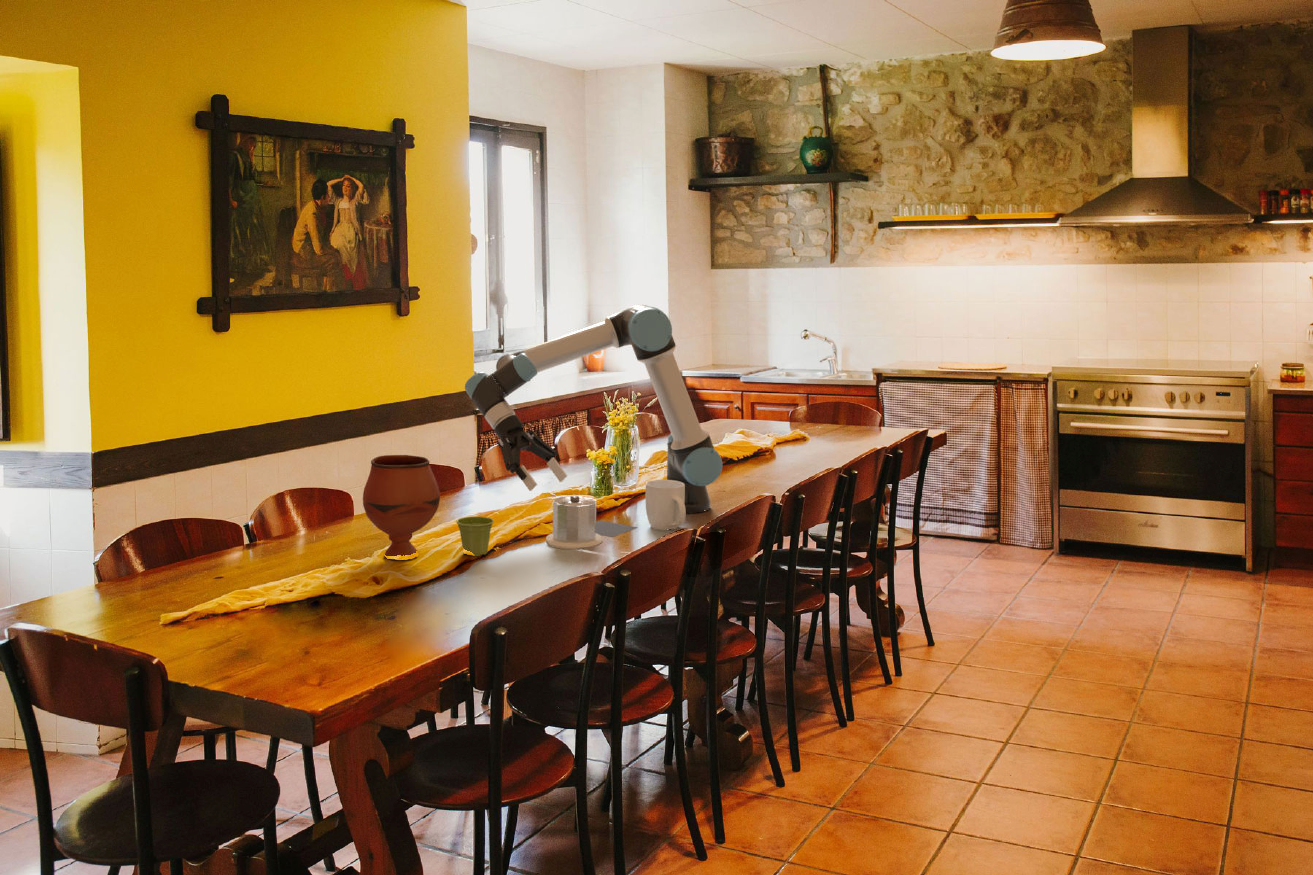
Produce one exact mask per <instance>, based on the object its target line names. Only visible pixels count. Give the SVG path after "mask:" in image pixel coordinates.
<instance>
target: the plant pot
mask: <svg viewBox="0 0 1313 875" xmlns="http://www.w3.org/2000/svg"><path fill="white" fill-rule="evenodd" d="M494 521H495V520H494V519H493V518H491V517H486V516H466V517H460V518H458V519H457V520H456V524H457V526H458V527H457V528H458V529H459V534H460V540H461V547H463V548H464V549H465V550H467V551H470V552H472V553H473V554H474V555H475V556H474V557H480V556H482V555H484V556H485V555H486V554H488V549H489V542H490V535H491V530H492V526H493V524H494ZM463 548H462V549H463Z"/></svg>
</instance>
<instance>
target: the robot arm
mask: <svg viewBox="0 0 1313 875" xmlns="http://www.w3.org/2000/svg"><path fill="white" fill-rule="evenodd" d="M630 345H631V347H632V349H633V352H634V354H635V358H636V359H637V361H638V362H640V363H643V364H644V366H645V368H646V371H647V374H648V376H649V379H650V381H651V384H652V387H653V390H654V393H655V394H656V397H657V400H658V402H659V405H660V407H661V408H660V409H661V410H662V413H663V416H664V418H665V420H666V424H667V425H668V429H669V431H670V434H669V435H668V437H667V442H666V446H667V453H666V456H667V458H666V460H667V461H666V480H674V481H679V482H682V483H684V484H685V502H684V505H685V510H686V514H697V512H699V513H702V512H701V511H704V510H708V509H709V508H710V509H711V499H710V496H709V492H708V490H707V486H709V485H711V484H713V483H714V482H716V481H717V480H718V479H719V477H720V476H721V474H722V470H723V460H722V457H721V455H720V453H719V452H718V451H717V450H716V449H715V446H714V444H713V441H712V439H711V436H710V434H709V432H708V431H707V430H703V429H702V427H701V424H700V421H699V418H698V417H697V414H696V411H695V409H694V405H693V403H692V400H691V398H690V395H689V393H688V390H687V387H686V385H685V381H684V379H683V376H682V374H681V373H682V372H681V370H680V369H679V366H678V363H677V360H676V358H675V355H674V351H675V349H676V347H677V344H676V342H675V339H674V337H673V326H672V323H671V320H670V318H669V317H668V315H666V313H664V311H663V310H661V309H659V308H658V307H655V306H649V305H646V304H637V305H633V306H630V307H627V308H626V309H624V310H621V311H619V312H617V313H614V314H611V315H607V316H606V317H605V319H604V321H602V322H599V323H596V324H593V325H591V326H588V327H585V328H583V329H582V328H581V329H580V330H577V331H574V332H571V333H568V334H565V335H561V336H560V337H557V338H553V339H550V340H547V341H545V342H543V343H540V344H536V345H534V346H531V347H528V348H525V349H523V350H520V351H517V352H514V353H507V354H503V355H501V356H500V357H499V358H498V360H497V362H496V365H495V369H496V370H495V371H493V373H490V374H487V373H486V372H484V371H480V372H477V373H476V374H473V375H472V376H470V377H469V378H468V379H467V381H466V382H465V384H464V390H465V392H466V394H467V395H468V397H469V399H470V400H471V401H472V403H473V404H474V405H475V407H476V408H477V409H478V411H479V412H480V414H481V415H482V416H483V418H484V419H485V420H486V422H487V424H489V426H490V427H491V428H492V430H494V433H495V435H496V436H497V437H498V438H499V440H498V441H497V442H496V443H497V446H498V447H499V449H500V452H501V456H502V459H503V463H504V465H505V470H506V471H509V472H510V473H511V474H514V473H515V474H516V475H517V477H518V478H519V479H520V480H521V481H522V482H523V485H525V487H526V488H527V489H528V491H529V492H531V491H533V490H534V488H536V487H537V485H538V483H537V482H536V481H535V479H534V478H533V476H532V475H531V474H530V472H529V471H528V470H527V468H526V466H525V465H524V464H523V465H521V452H523V451H526V452H530V453H533V454H534V455H535V456H537V457H538V458H541V459H542V460H544V461H546V462H547V463H546V465H547V466H548V467H549V469H550V471H551V472H552V473H553V475H554V477H556V479H557V480H558V481H559V483H562V482H563V481H564V480H565V479H566V478H567V477H568V475H567V473H566V472H565V470H564V469H563V468H562V467H561V464H560V463H559V462H558V460H557V459H556V456H558V454H559V453H558V452H557V451H556V450H555V449H554V448H552V446H550V445H549V444H548V443H546V441H544V440H543V439H542V438H540V437H539V436H538V435H537V434H536V433H535V431H533V430H532V429H531V430H530V431H528V432H525V431H524V423H523V422H522V421H521V419H520V418H519V416H518V415H516V412H515V411H514V409H513V407H512V406H511V405H510V404H509V402H507V400H506V398H507V397H508V396H509V395H510V394H512V393H513V392H515V391H516V390H518V389H520V388H521V387H522V386H523V385H525V384H526V383H527V382H530V381H531V380H533V378H535V377H536V376H537V375H538V373H541V372H543V371H546V370H548V369H552V368H555V367H557V366H561V365H563V364H566V363H569V362H571V361H574V360H577V359H578V360H579V359H580V358H583V357H587V356H589V355H592V354H594V353H597V352H600V351H603V350H606V349H608V348H612V347H614V348H616V349H620V348H623V347H625V346H630ZM710 509H709V510H710ZM709 510H708V511H709Z"/></svg>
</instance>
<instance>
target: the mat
mask: <svg viewBox="0 0 1313 875" xmlns="http://www.w3.org/2000/svg"><path fill="white" fill-rule="evenodd" d="M636 529H638V526H632V525H626V524H622V523H615V522H611V521H604V520H598V521H597V520H596V534H599V535H601V536H602V537H603V536H604V537H609V538H614V537H617V536H619V535H622V534H625V533H627V532H631V531H633V530H636Z"/></svg>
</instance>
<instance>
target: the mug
mask: <svg viewBox="0 0 1313 875" xmlns="http://www.w3.org/2000/svg"><path fill="white" fill-rule="evenodd" d="M684 502H685V484H684V483H682V482H679V481H674V480H667V479H655V480H654V479H653V480H649V481H646V483H645V512H646V516H647V521H648V523H649V525H650V527H651V528H652V529H654V530H657V529H662V530H661V531H670V530H669V529H674V530H677V529H678V528H679V527H680V526H682V525H683V524H684V523H685V521H686V517H687V513H686V510H685V505H684ZM667 529H668V530H667Z"/></svg>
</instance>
